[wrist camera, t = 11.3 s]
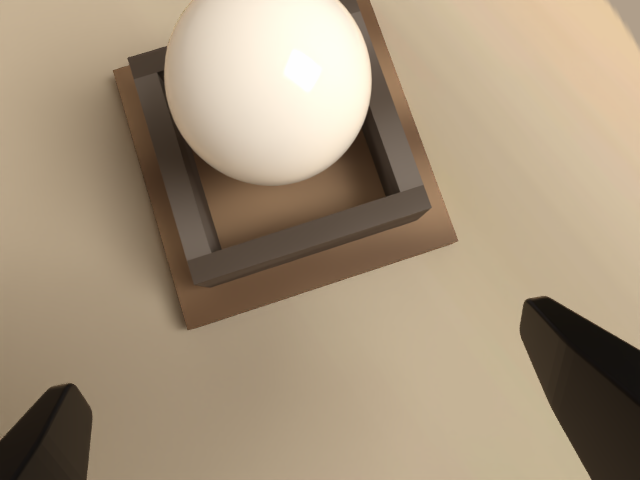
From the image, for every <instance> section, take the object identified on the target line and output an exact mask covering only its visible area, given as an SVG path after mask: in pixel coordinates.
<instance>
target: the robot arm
mask: <svg viewBox="0 0 640 480" xmlns="http://www.w3.org/2000/svg"><path fill="white" fill-rule="evenodd" d="M520 335H521V339H522V341H523V343H524V346H525V348H526V350H527V353H528V355H529V358H530V360H531V362H532V365H533V367H534V369H535V372H536V374H537V376H538V379H539V381H540V383H541V386H542V388H543V390H544V393H545V395H546V397H547V399H548V402H549V404H550V406H551V408H552V410H553V412H554V414H555V416H556V417H557V419H558V421H559V423H560V425H561V426H562V428H563V430H564V432H565V433H566V435H567V437H568V439H569V441H570V442H571V444H572V446H573V448H574V449H575V451H576V453H577V455H578V456H579V458H580V460H581V462H582V464H583V465H584V467H585V469H586V471H587V472H588V474H589V476H590V478H591V480H640V350H639V349H637V348H636V347H634V346H632V345H630V344H629V343H627V342H625V341H624V340H622V339H620V338H618V337H617V336H615V335H613V334H611V333H610V332H608V331H606V330H605V329H603V328H601V327H599V326H598V325H596V324H594V323H593V322H591V321H589V320H587V319H586V318H584V317H582V316H581V315H579V314H577V313H575V312H574V311H572V310H570V309H568V308H567V307H565V306H563V305H562V304H560V303H558V302H556V301H555V300H553V299H551V298H549V297H547V296H540V297H535V298H529V299H527V300H525V302H524V304H523V310H522V316H521V322H520ZM91 429H92V411H91V408H90V406H89V405H88V403H87V401H86V400H85V398H84V397H83V395H82V394H81V392H80V391H79V389H78V388H77V386H76V385H74V384H72V383H67V384H62V385H57V386H53V387H50V388H49V389H48V390H47V391H46V392H45V393H44V394H43V395H42V396H41V397H40V398H39V399H38V400H37V401H36V403H35V404H34V405H33V406H32V407H31V408H30V409H29V410H28V411H27V412H26V413H25V414H24V416H23V417H22V418H21V419H20V420H19V421H18V422H17V423H16V424H15V425H14V426H13V427H12V429H11V430H10V431H9V432H8V433H7V434H6V435H5V436H4V437H3V438H2V439H1V440H0V480H87V470H88V460H89V450H90V439H91Z"/></svg>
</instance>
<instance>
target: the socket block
mask: <svg viewBox="0 0 640 480" xmlns="http://www.w3.org/2000/svg"><path fill="white" fill-rule="evenodd" d="M339 1H340V2H341V3H342V4H343V5H344V6H345V8H346V9H347V10H348V11H349V13H350V14H351V15H352V17H353V18H354V20H355V22H356V23H357V25H358V27H359V29H360V31H361V33H362V35H363V38H364V40H365V43H366V46H367V49H368V53H369V58H370V64H371V73H372V88H371V98H370V103H369V108H368V112H367V115H366V118H365V121H364V123H363V125H362V128H361V130H360V132H359V134H358V135H357V137H356V139H355V140H354V142H353V143H352V145H351V146H350V147H349V149H348V150H347V151H346V152H345V153H344V154H343V155H342V157H341V158H340V159H338V160H337V161H336V162H335V163H334V164H333V165H331V166H330V167H329V168H327V169H326V170H324V171H323V172H321V173H319V174H318V175H316V176H314V177H311V178H309V179H307V180H304V181H301V182H298V183H294V184H289V185H282V186H261V185H253V184H249V183H245V182H241V181H238V180H236V179H233V178H231V177H228V176H226V175H224V174H222V173H221V172H219V171H217V170H216V169H214V168H213V167H211V166H210V165H209V164H207V163H206V162H205V161H204V160H202V159H201V158H200V157H199V156H198V155H197V154H196V153H195V152H194V151H193V150H192V149H191V147H190V146H189V145H188V144H187V142H186V141H185V140H184V138H183V137H182V135H181V133H180V132H179V130H178V128H177V126H176V124H175V122H174V120H173V118H172V115H171V112H170V109H169V106H168V102H167V98H166V93H165V85H164V64H165V56H166V50H167V46H166V47H162V48H159V49H156V50H152V51H149V52H146V53H142V54H139V55H136V56H132V57H129V58H128V61H129V66H126V67H122V68H119V69H116V70H113V73H114V76H115V79H116V83H117V86H118V90H119V93H120V97H121V100H122V104H123V107H124V111H125V114H126V118H127V121H128V125H129V128H130V132H131V135H132V139H133V142H134V145H135V149H136V152H137V156H138V159H139V163H140V166H141V170H142V173H143V177H144V180H145V184H146V187H147V191H148V194H149V198H150V201H151V205H152V208H153V212H154V215H155V218H156V222H157V225H158V229H159V232H160V236H161V239H162V243H163V246H164V250H165V253H166V257H167V260H168V264H169V267H170V271H171V274H172V278H173V281H174V284H175V288H176V291H177V295H178V298H179V302H180V305H181V309H182V312H183V316H184V319H185V323H186V326H187V330H190V329H195V328H198V327H201V326H204V325H207V324H210V323H213V322H216V321H219V320H222V319H225V318H228V317H231V316H234V315H237V314H240V313H243V312H246V311H249V310H252V309H256V308H259V307H262V306H265V305H268V304H271V303H274V302H277V301H280V300H283V299H286V298H289V297H292V296H295V295H298V294H301V293H304V292H307V291H310V290H313V289H316V288H319V287H322V286H325V285H328V284H332V283H335V282H338V281H341V280H344V279H347V278H350V277H353V276H356V275H359V274H362V273H365V272H368V271H371V270H374V269H377V268H380V267H383V266H386V265H389V264H392V263H395V262H398V261H401V260H404V259H408V258H411V257H414V256H417V255H420V254H423V253H426V252H429V251H432V250H435V249H438V248H441V247H444V246H447V245H450V244H453V243H455V242H457V241H458V239H457V236H456V233H455V231H454V228H453V225H452V223H451V220H450V217H449V214H448V212H447V209H446V206H445V204H444V201H443V198H442V195H441V193H440V190H439V187H438V185H437V182H436V179H435V176H434V174H433V171H432V168H431V166H430V163H429V160H428V157H427V155H426V152H425V149H424V147H423V144H422V141H421V138H420V136H419V133H418V130H417V128H416V125H415V122H414V119H413V117H412V114H411V111H410V109H409V106H408V103H407V100H406V98H405V95H404V92H403V90H402V87H401V84H400V81H399V79H398V76H397V73H396V71H395V68H394V65H393V62H392V60H391V57H390V54H389V52H388V49H387V46H386V43H385V41H384V38H383V35H382V33H381V30H380V27H379V24H378V22H377V19H376V16H375V14H374V11H373V8H372V5H371V3H370V0H339Z"/></svg>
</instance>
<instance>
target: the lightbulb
mask: <svg viewBox="0 0 640 480" xmlns="http://www.w3.org/2000/svg"><path fill="white" fill-rule="evenodd" d="M164 85H165V93H166V98H167V102H168V106H169V109H170V112H171V115H172V118H173V120H174V122H175V124H176V126H177V128H178V130H179V132H180V133H181V135H182V137H183V138H184V140H185V141H186V142H187V144H188V145H189V146H190V147H191V149H192V150H193V151H194V152H195V153H196V154H197V155H198V156H199V157H200V158H201V159H202V160H204V161H205V162H206V163H207V164H209V165H210V166H211V167H213V168H214V169H216V170H217V171H219V172H221V173H222V174H224V175H226V176H228V177H231V178H233V179H236V180H238V181H241V182H245V183H249V184H253V185H261V186H282V185H289V184H294V183H298V182H301V181H304V180H307V179H309V178H311V177H314V176H316V175H318V174H319V173H321V172H323V171H324V170H326V169H327V168H329V167H330V166H331V165H333V164H334V163H335V162H336V161H337V160H338V159H340V158H341V157H342V155H343V154H344V153H345V152H346V151H347V150H348V149H349V147H350V146H351V145H352V143H353V142H354V140H355V139H356V137H357V135H358V134H359V132H360V130H361V128H362V125H363V123H364V121H365V118H366V115H367V112H368V108H369V103H370V98H371V88H372V73H371V64H370V58H369V53H368V49H367V46H366V43H365V40H364V38H363V35H362V33H361V31H360V29H359V27H358V25H357V23H356V22H355V20H354V18H353V17H352V15H351V14H350V13H349V11H348V10H347V9H346V8H345V6H344V5H343V4H342V3H341V2H340V1H339V0H192V1H191V2H190V3H189V5H188V6H187V7H186V8H185V10H184V11H183V13H182V14H181V16H180V17H179V19H178V21H177V23H176V25H175V27H174V29H173V31H172V34H171V36H170V39H169V42H168V46H167V50H166V56H165V64H164Z"/></svg>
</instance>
